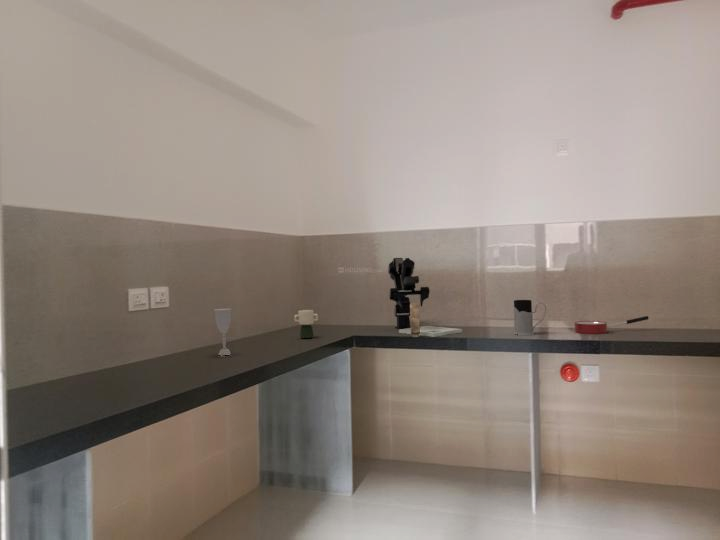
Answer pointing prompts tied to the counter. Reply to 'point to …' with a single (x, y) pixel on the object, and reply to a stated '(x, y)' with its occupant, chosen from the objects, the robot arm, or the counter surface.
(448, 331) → the seat board
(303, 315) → the trophy cup
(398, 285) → the robot arm
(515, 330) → the grey mug
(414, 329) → the beech peg
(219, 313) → the chalice
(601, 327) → the frying pan
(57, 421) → the counter surface
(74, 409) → the counter surface
